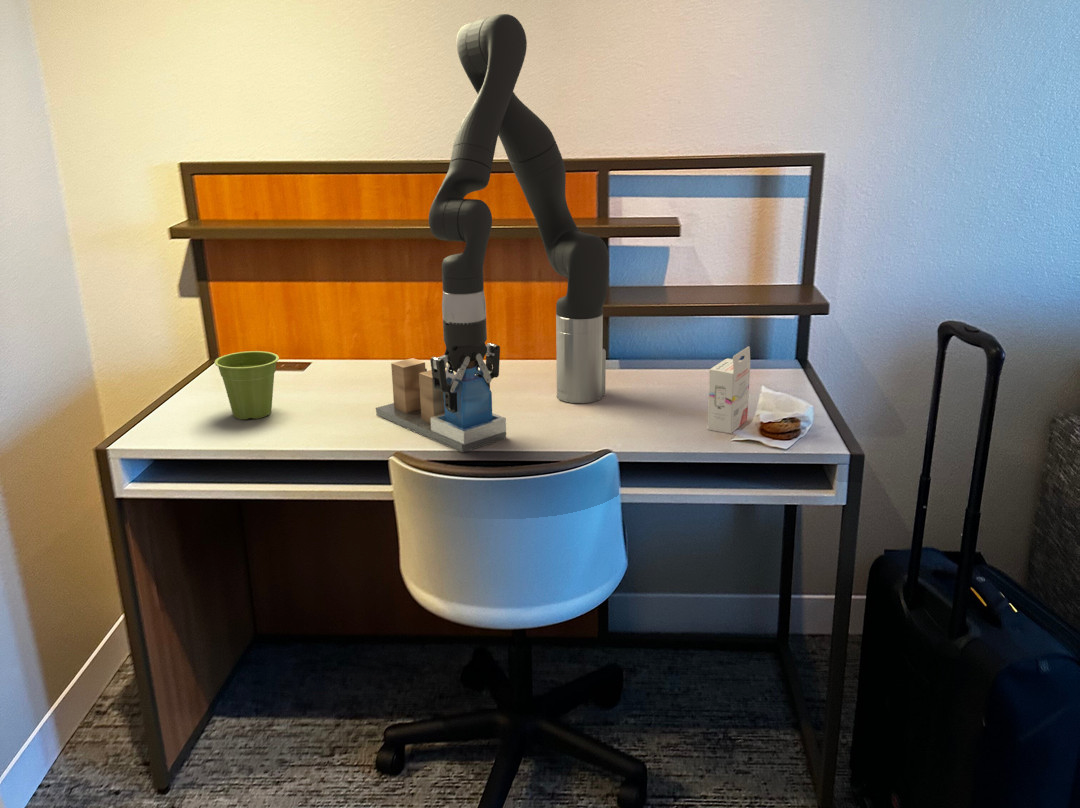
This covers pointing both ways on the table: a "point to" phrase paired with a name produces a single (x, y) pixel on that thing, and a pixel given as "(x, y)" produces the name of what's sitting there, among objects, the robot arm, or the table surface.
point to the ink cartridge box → (729, 393)
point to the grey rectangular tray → (447, 428)
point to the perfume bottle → (471, 401)
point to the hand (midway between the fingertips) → (468, 406)
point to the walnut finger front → (430, 397)
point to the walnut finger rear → (407, 384)
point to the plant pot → (249, 382)
